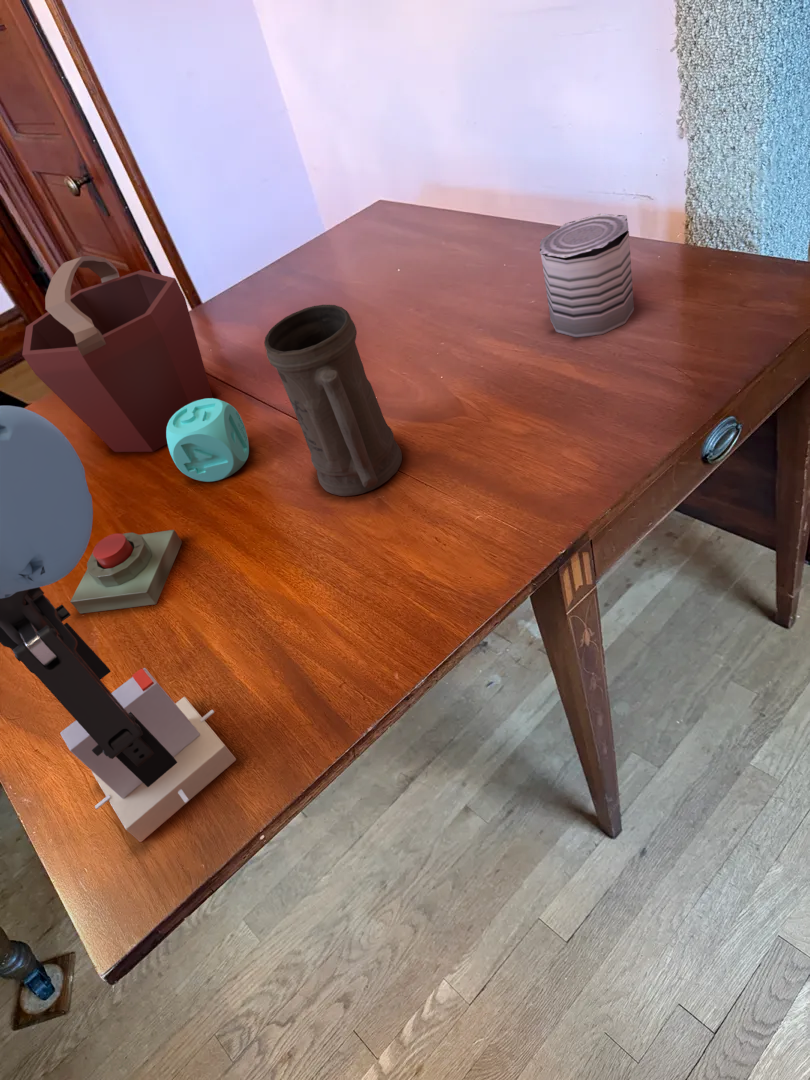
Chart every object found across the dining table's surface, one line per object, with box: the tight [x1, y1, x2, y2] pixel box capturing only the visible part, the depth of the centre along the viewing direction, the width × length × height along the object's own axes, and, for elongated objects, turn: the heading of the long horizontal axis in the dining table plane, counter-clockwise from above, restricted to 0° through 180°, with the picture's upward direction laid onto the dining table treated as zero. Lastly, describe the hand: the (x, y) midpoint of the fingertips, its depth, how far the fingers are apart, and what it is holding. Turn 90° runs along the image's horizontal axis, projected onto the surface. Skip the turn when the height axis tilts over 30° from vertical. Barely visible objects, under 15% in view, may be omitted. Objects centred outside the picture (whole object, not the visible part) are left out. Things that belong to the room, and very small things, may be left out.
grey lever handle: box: [59, 667, 200, 799], centre depth 62 cm, size 8×2×8 cm, turn 130°
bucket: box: [21, 255, 214, 453], centre depth 107 cm, size 24×22×25 cm
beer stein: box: [263, 304, 403, 497], centre depth 84 cm, size 15×11×20 cm
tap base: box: [91, 696, 237, 843], centre depth 66 cm, size 12×12×3 cm
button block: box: [69, 529, 183, 614], centre depth 87 cm, size 10×10×4 cm
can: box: [539, 213, 635, 338], centre depth 99 cm, size 11×11×12 cm
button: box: [92, 532, 133, 569], centre depth 86 cm, size 4×4×2 cm
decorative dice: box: [166, 397, 250, 483], centre depth 99 cm, size 8×8×8 cm
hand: (126, 722), depth 62 cm, fingers open, 13 cm apart
